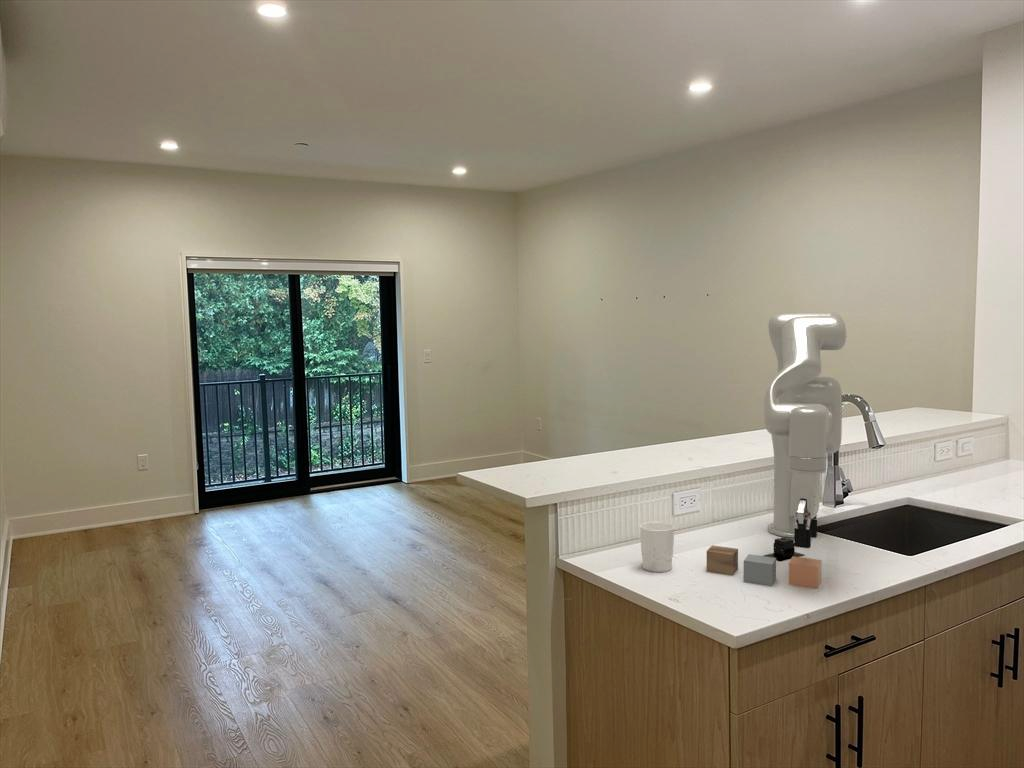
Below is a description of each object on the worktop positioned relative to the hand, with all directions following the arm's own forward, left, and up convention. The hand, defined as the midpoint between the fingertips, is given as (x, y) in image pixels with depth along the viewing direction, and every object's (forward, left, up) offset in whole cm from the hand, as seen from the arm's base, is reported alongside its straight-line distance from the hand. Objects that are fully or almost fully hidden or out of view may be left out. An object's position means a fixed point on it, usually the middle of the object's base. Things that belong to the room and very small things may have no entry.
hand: (805, 541), depth 161 cm
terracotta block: (-1, 0, -10) cm, 10 cm away
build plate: (-19, -8, -10) cm, 23 cm away
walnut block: (-1, -18, -10) cm, 21 cm away
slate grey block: (+2, -9, -10) cm, 13 cm away
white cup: (+4, -32, -10) cm, 34 cm away
